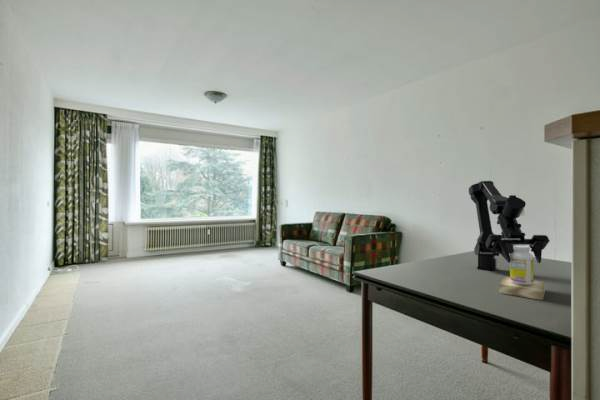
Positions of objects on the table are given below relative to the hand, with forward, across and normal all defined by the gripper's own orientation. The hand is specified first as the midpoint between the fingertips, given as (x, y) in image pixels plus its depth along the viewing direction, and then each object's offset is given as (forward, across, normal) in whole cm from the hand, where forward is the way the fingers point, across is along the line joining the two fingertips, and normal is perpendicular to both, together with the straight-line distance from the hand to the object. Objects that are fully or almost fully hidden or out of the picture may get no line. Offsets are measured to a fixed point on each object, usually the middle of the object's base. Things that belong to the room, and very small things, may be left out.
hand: (524, 262), depth 108 cm
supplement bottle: (+4, 0, -7) cm, 8 cm away
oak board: (+6, 0, -8) cm, 11 cm away
